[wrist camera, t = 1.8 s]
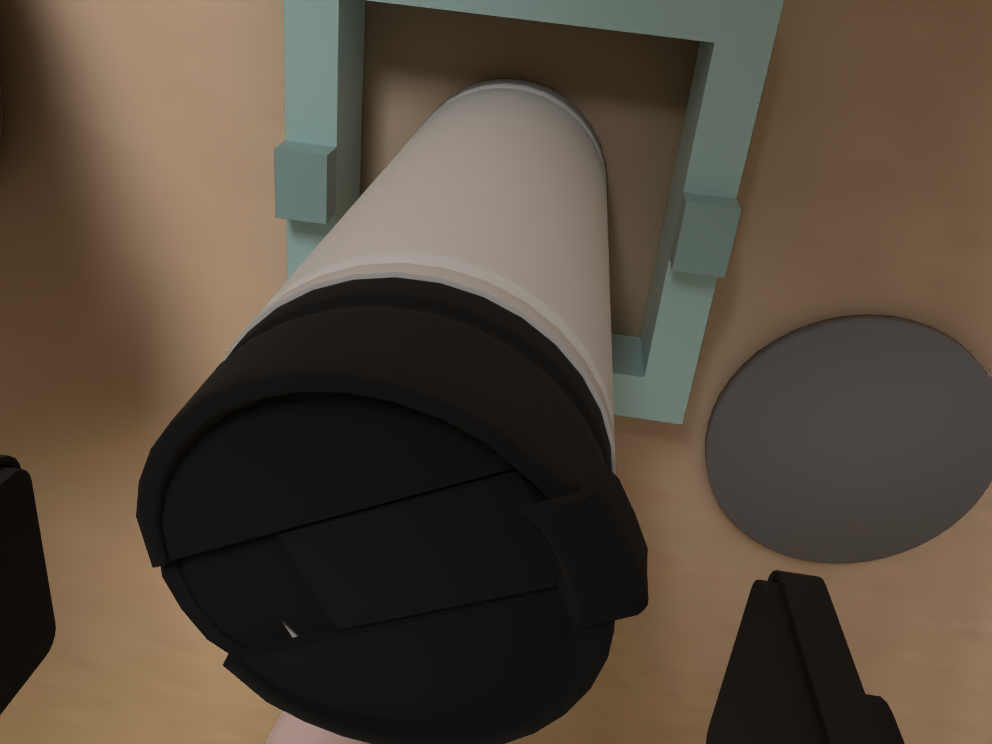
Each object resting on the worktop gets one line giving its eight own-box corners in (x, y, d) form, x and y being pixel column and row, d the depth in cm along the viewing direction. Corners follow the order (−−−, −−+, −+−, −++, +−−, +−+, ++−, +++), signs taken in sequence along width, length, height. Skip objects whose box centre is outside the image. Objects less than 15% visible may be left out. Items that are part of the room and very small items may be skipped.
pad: (740, 295, 29) (743, 303, 28) (1045, 336, 28) (1054, 344, 28) (680, 532, 33) (681, 541, 33) (940, 570, 33) (946, 581, 32)
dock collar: (316, -74, 25) (269, -73, 21) (766, -20, 24) (795, -11, 21) (314, 330, 31) (278, 382, 27) (674, 381, 30) (685, 441, 27)
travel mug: (642, 229, 28) (719, 747, 10) (459, 294, 30) (257, 832, 12) (576, 39, 26) (530, 297, 8) (381, 122, 27) (-14, 483, 10)
